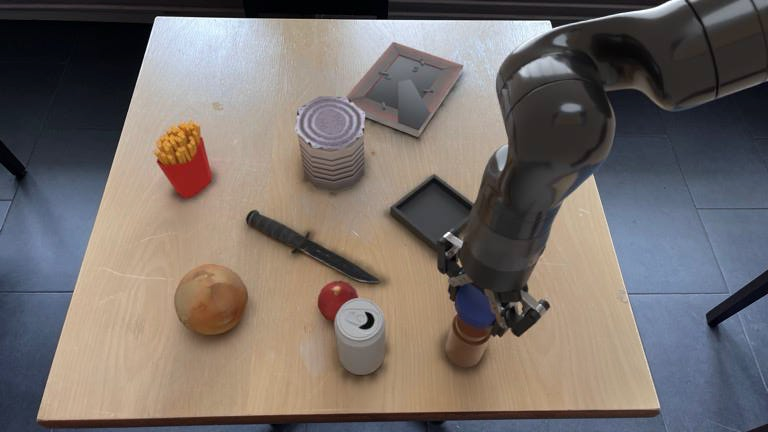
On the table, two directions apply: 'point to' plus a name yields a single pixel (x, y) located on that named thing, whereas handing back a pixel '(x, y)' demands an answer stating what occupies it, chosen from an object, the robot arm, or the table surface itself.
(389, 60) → the picture frame
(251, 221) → the knife
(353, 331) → the beverage can
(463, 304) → the lid
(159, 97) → the table surface
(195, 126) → the french fries
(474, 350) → the jar
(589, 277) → the table surface
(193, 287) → the onion
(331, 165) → the can
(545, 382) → the table surface
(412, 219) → the tray
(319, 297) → the onion
